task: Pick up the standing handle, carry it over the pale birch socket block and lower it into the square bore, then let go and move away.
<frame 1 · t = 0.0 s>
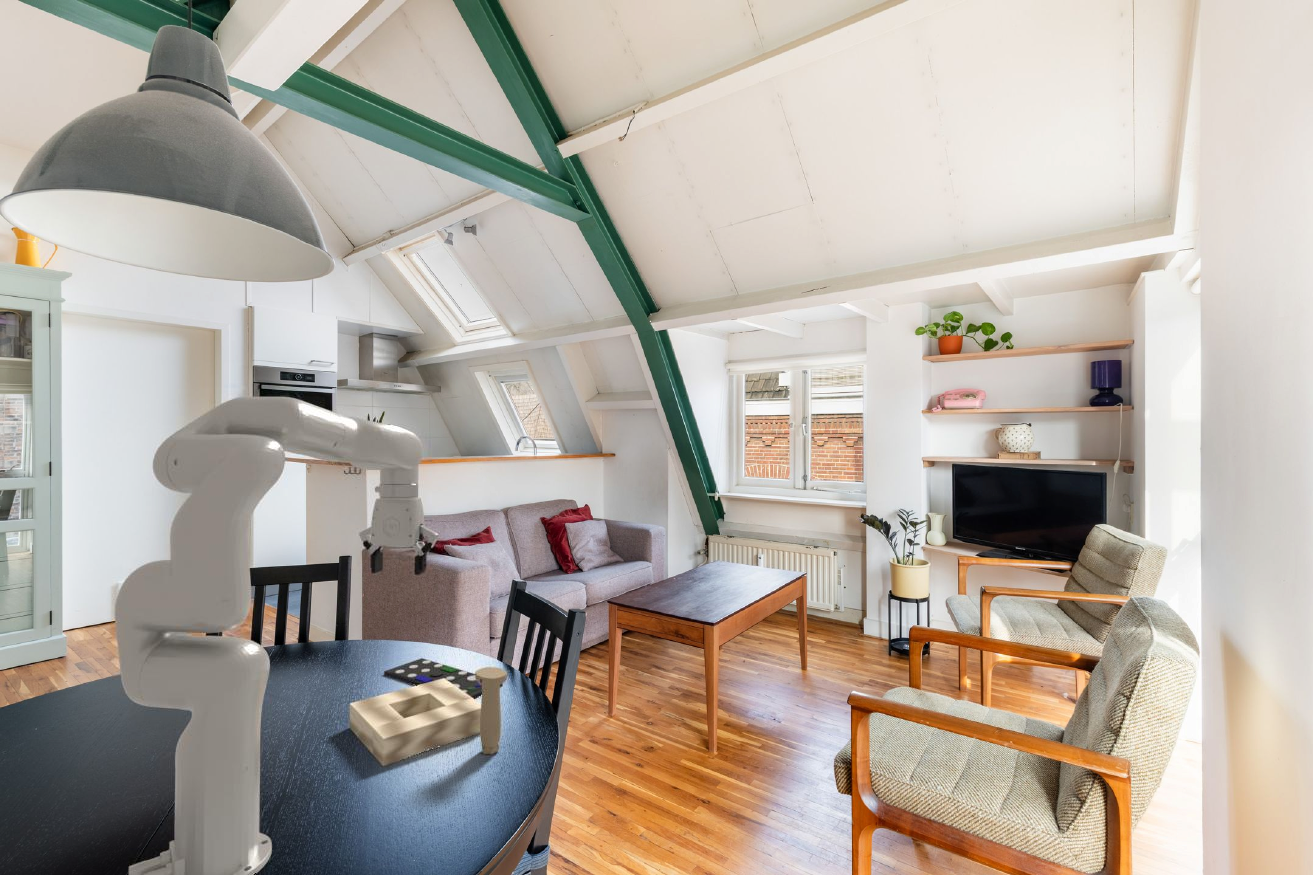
hand: (398, 572, 128), 31 cm above the table, tool pointing down, fingers open, 9 cm apart
handle: (490, 752, 116), on the table
socket block: (417, 729, 124), on the table
remote control: (442, 683, 150), on the table
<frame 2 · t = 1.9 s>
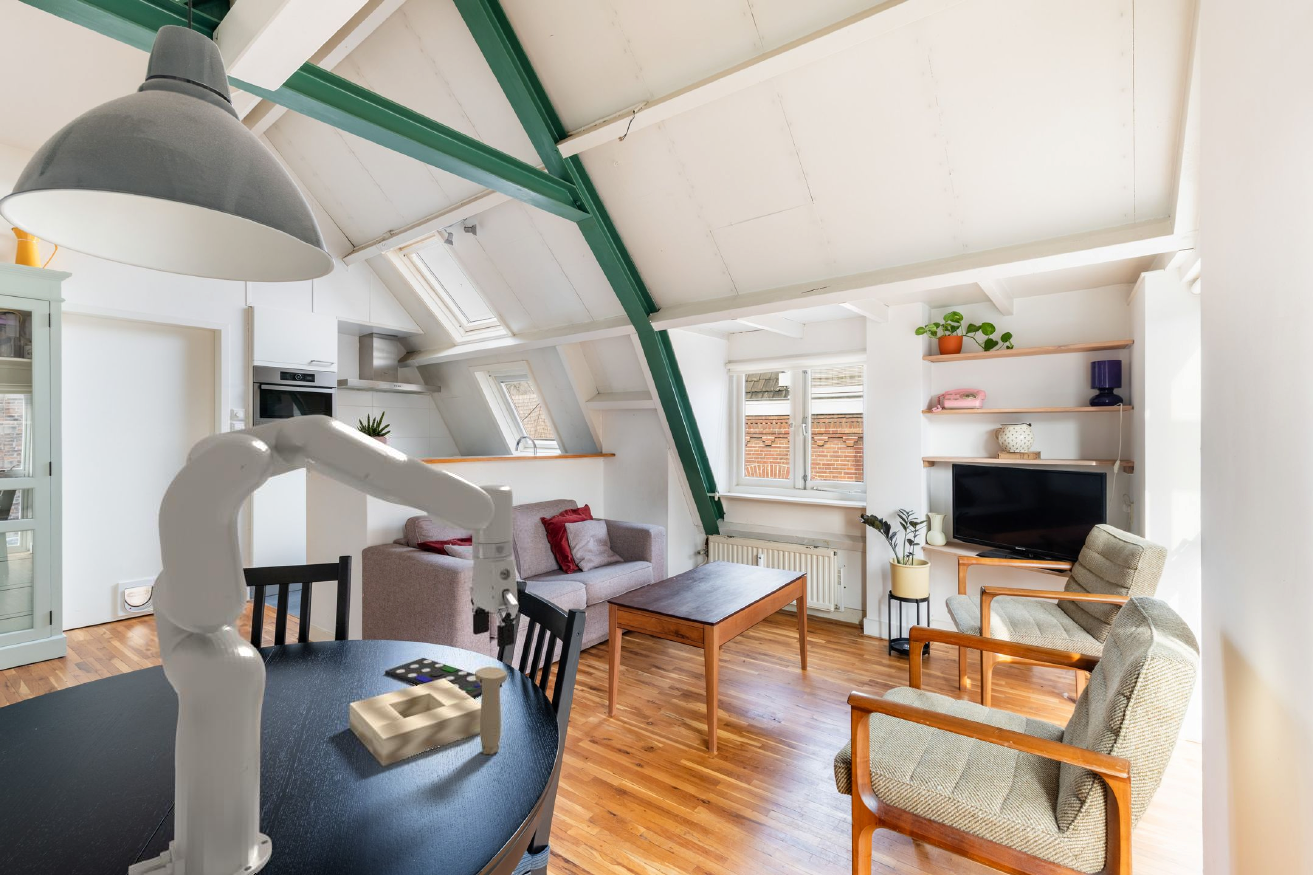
hand: (493, 638, 116), 21 cm above the table, tool pointing down, fingers open, 9 cm apart
nothing on the table moved.
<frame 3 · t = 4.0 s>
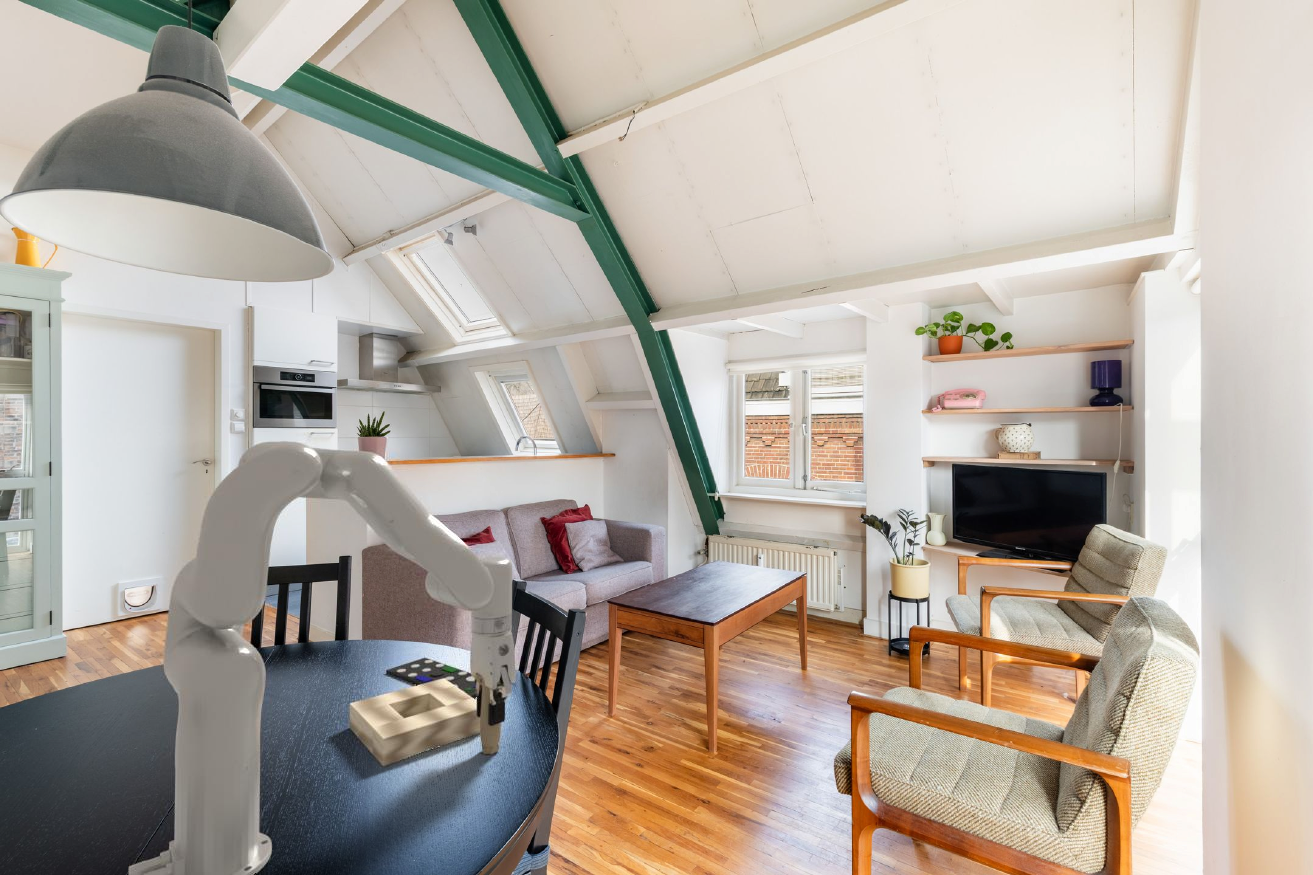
hand: (490, 717, 116), 6 cm above the table, tool pointing down, fingers closed on handle, 3 cm apart
handle: (490, 752, 116), on the table, touching gripper
everything else where it was.
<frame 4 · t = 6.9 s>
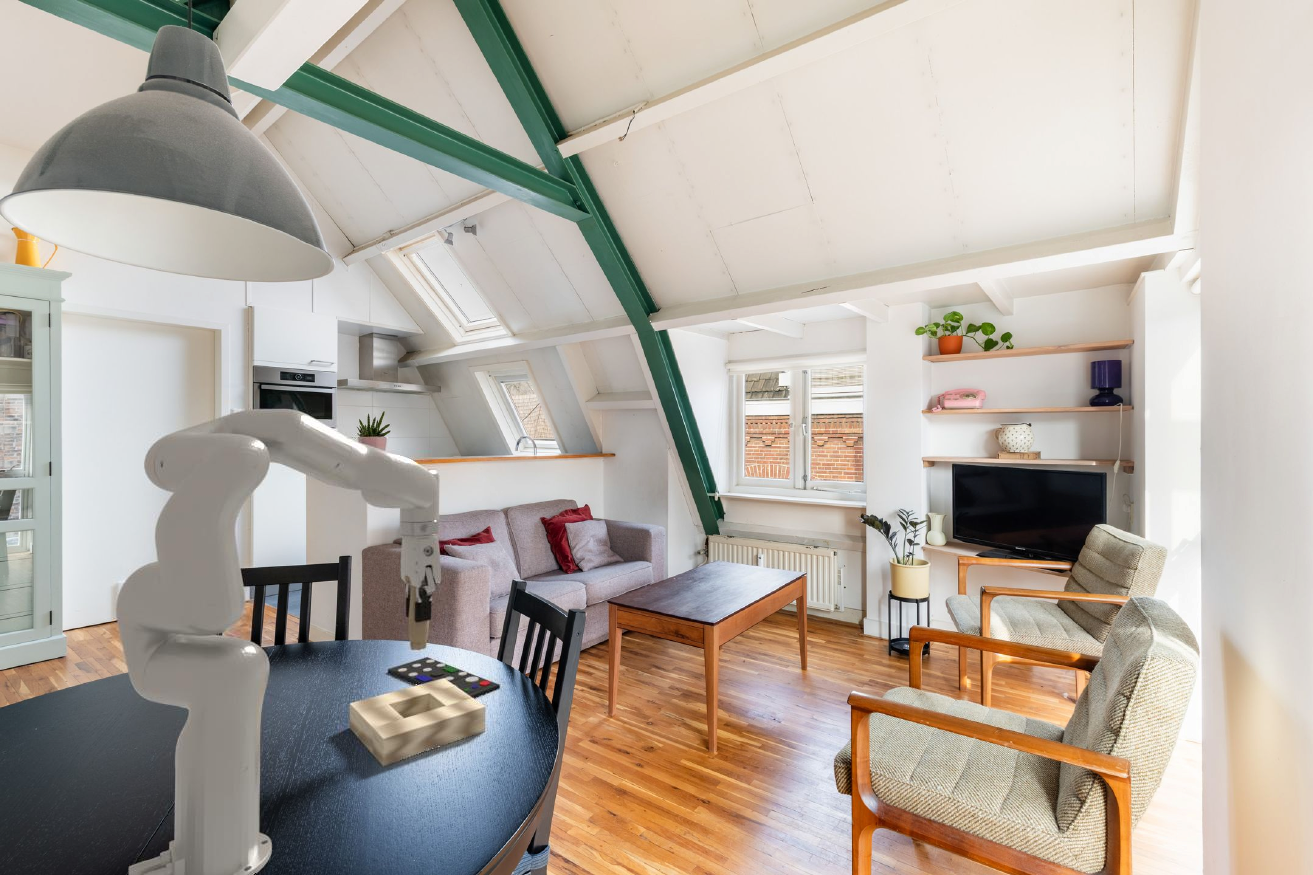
hand: (418, 617, 124), 23 cm above the table, tool pointing down, fingers closed on handle, 3 cm apart
handle: (418, 649, 124), point 16 cm above the table, touching gripper
everything else where it was.
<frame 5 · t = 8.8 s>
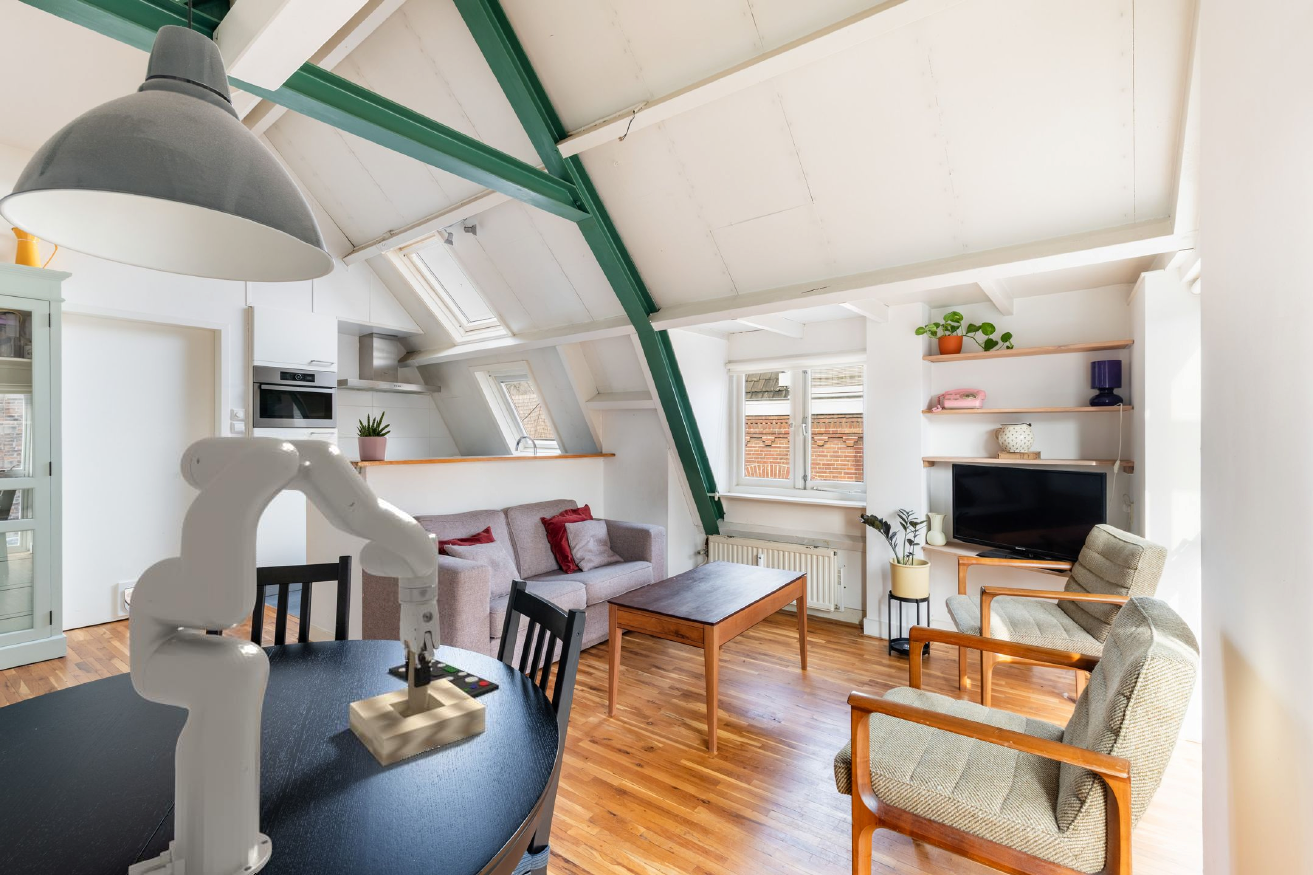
hand: (417, 681, 124), 10 cm above the table, tool pointing down, fingers closed on handle, 3 cm apart
handle: (417, 712, 124), point 3 cm above the table, touching gripper
everything else where it was.
when the fingers open (8 cm above the table, at t = 9.9 s): handle drops 1 cm, resting in socket block.
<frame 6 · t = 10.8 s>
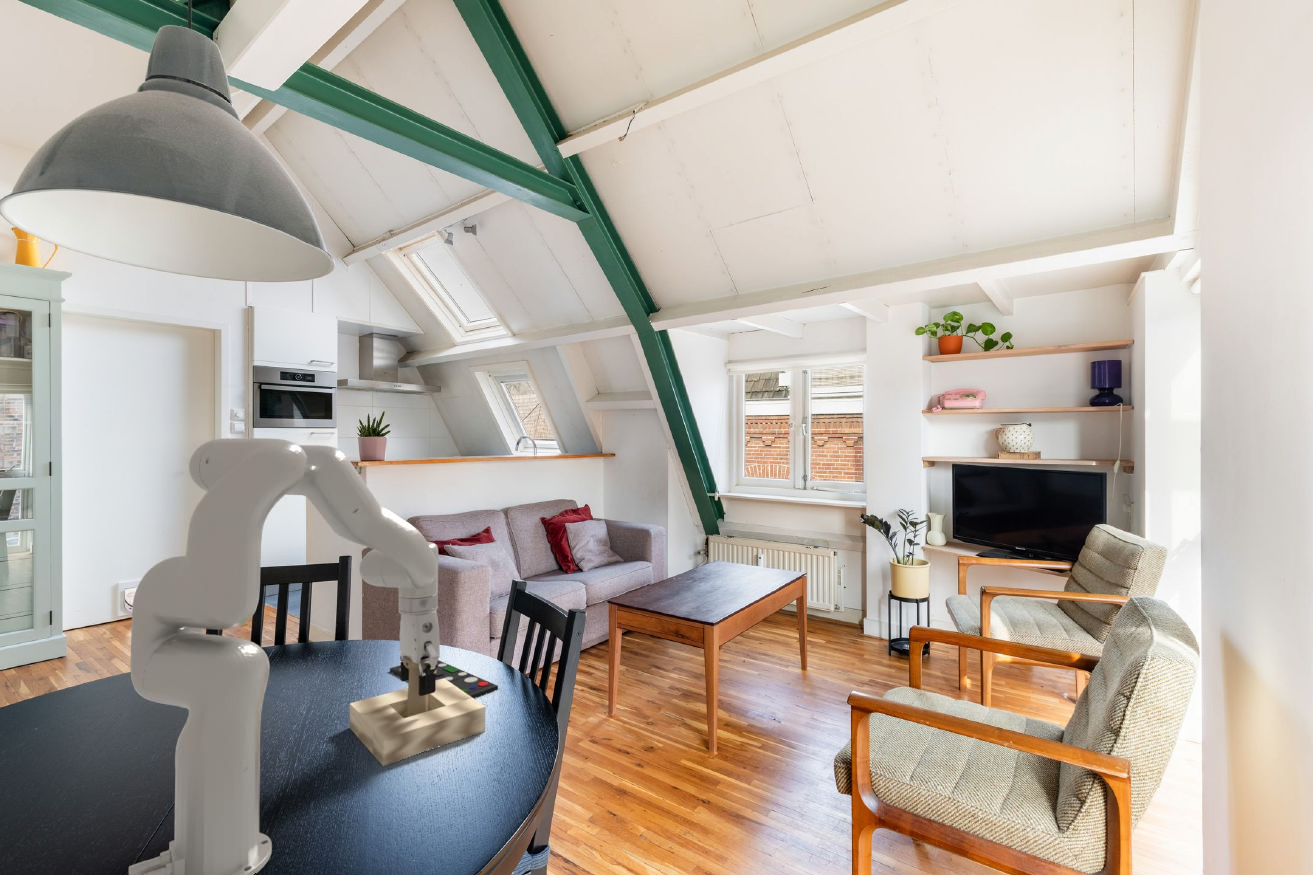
hand: (417, 686, 124), 9 cm above the table, tool pointing down, fingers open, 9 cm apart
handle: (417, 731, 124), resting in socket block
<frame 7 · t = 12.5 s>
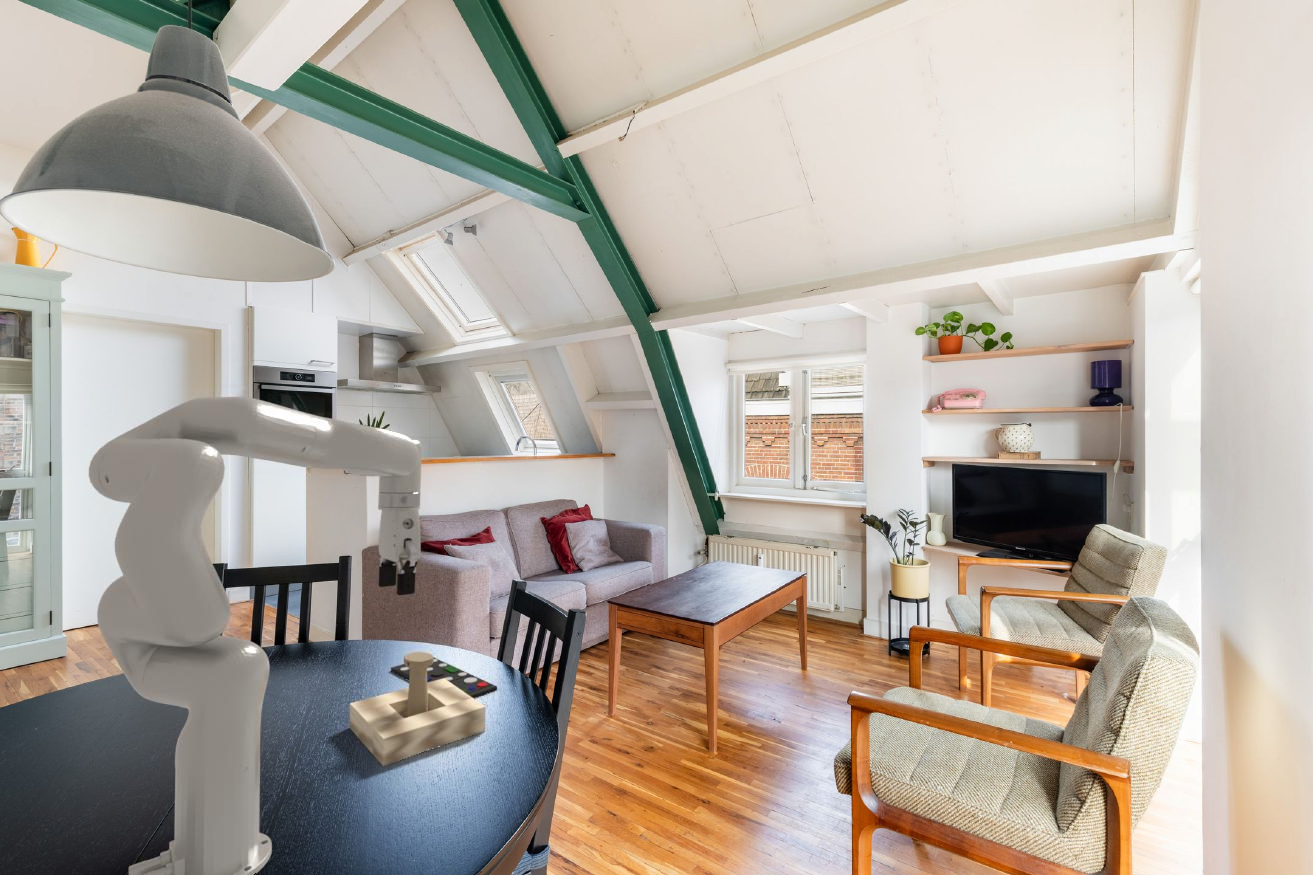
hand: (396, 590, 118), 30 cm above the table, tool pointing down, fingers open, 9 cm apart
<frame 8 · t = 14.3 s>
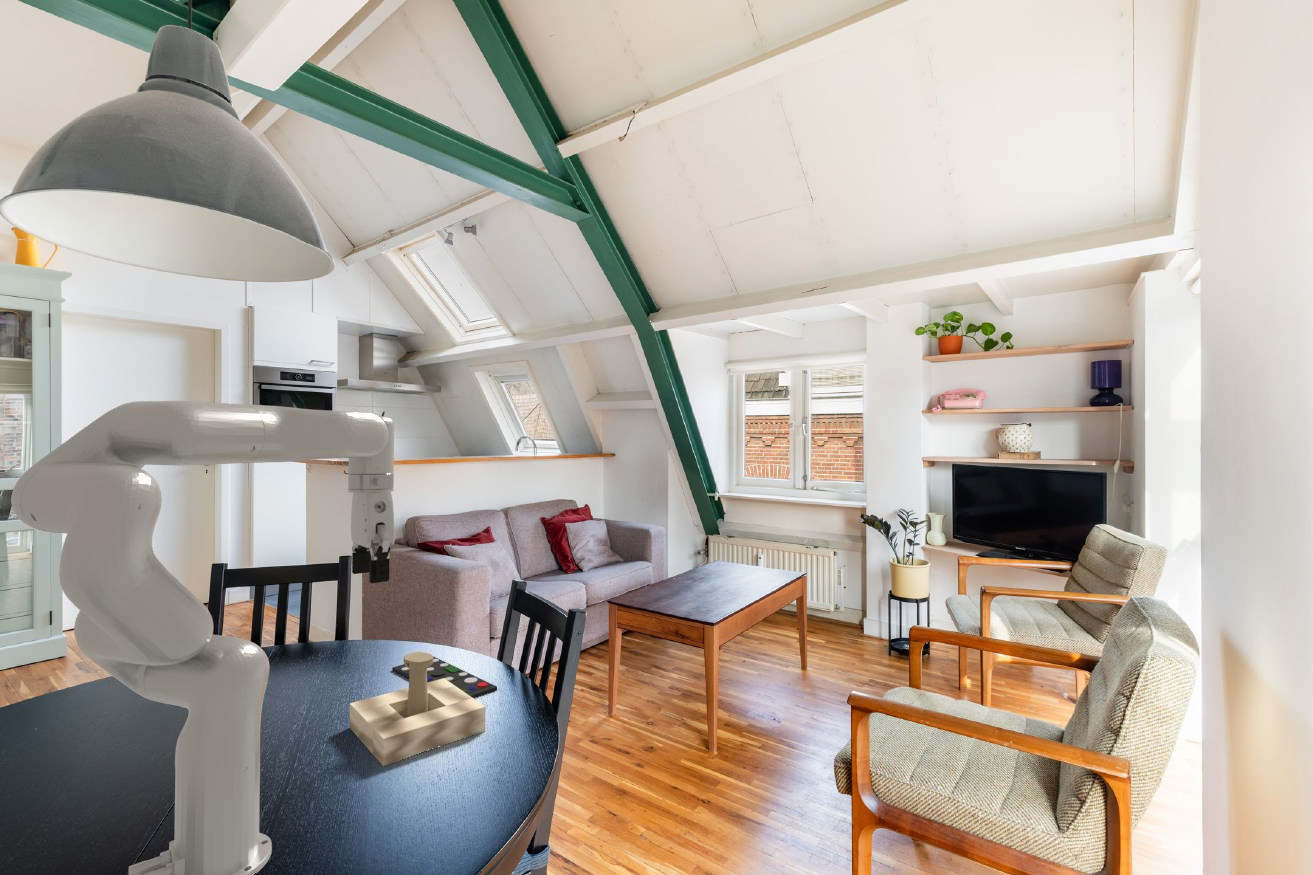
hand: (370, 577, 110), 34 cm above the table, tool pointing down, fingers open, 9 cm apart
at the end: handle 0.4 cm off-centre on the socket block, point 0.0 cm above the socket block's base; handle tilted 0°; the gripper is holding nothing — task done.
